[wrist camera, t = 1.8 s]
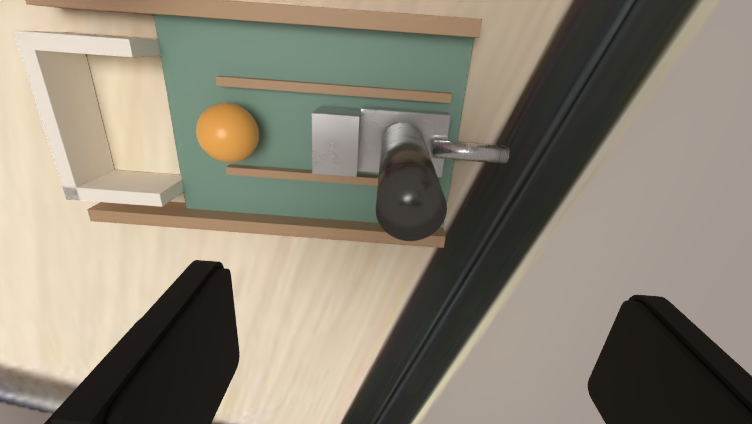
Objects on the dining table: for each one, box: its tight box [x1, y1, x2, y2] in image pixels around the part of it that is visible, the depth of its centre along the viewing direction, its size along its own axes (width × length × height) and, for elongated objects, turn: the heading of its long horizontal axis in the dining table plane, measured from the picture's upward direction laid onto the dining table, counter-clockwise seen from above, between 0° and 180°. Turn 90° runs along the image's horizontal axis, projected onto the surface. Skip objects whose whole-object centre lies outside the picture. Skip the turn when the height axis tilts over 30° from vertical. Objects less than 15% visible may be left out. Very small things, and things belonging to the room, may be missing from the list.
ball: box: [196, 103, 259, 163], centre depth 25 cm, size 4×4×4 cm
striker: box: [312, 106, 509, 241], centre depth 21 cm, size 13×4×12 cm, turn 86°
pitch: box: [13, 0, 482, 248], centre depth 26 cm, size 28×16×4 cm, turn 86°
